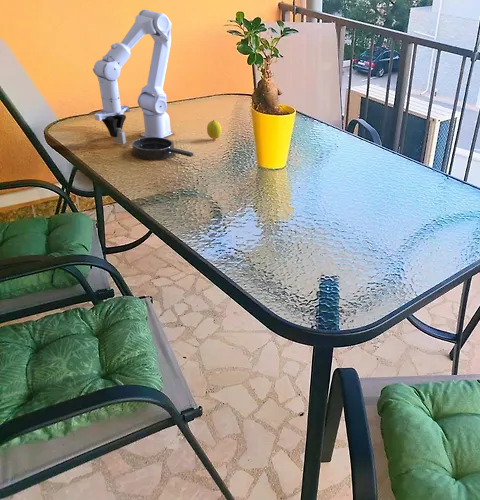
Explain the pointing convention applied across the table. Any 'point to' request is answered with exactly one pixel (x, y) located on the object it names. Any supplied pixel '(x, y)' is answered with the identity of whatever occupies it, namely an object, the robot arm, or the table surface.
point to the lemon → (214, 129)
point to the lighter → (120, 136)
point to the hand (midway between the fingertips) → (115, 135)
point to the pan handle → (181, 152)
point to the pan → (152, 148)
